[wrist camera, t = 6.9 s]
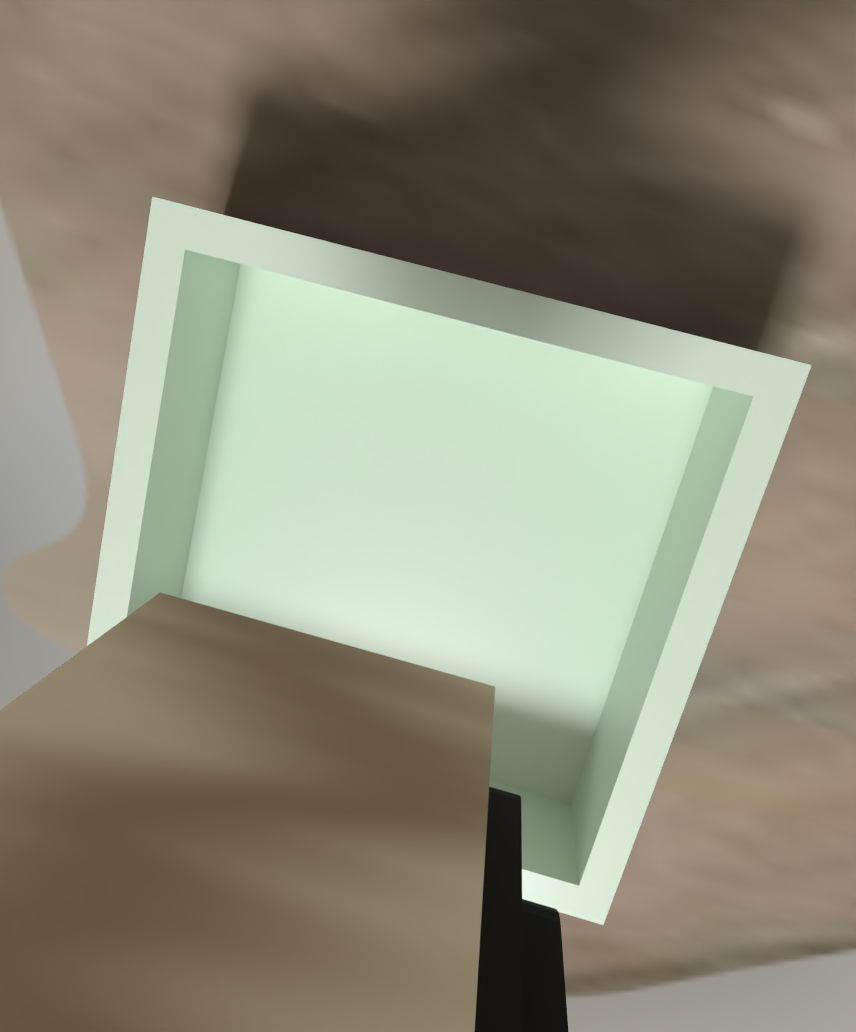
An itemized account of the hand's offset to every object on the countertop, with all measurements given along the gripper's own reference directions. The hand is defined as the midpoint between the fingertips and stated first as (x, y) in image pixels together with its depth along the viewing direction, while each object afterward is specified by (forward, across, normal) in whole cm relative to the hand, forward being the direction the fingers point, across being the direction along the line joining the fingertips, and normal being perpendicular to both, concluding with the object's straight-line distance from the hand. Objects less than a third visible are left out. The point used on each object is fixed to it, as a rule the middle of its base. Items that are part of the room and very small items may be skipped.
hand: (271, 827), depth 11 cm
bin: (+15, 0, 0) cm, 15 cm away
